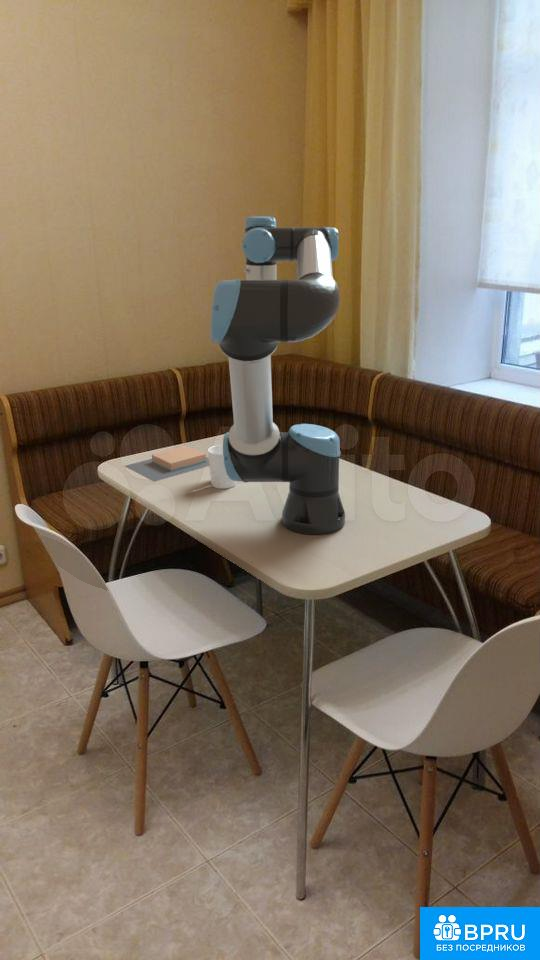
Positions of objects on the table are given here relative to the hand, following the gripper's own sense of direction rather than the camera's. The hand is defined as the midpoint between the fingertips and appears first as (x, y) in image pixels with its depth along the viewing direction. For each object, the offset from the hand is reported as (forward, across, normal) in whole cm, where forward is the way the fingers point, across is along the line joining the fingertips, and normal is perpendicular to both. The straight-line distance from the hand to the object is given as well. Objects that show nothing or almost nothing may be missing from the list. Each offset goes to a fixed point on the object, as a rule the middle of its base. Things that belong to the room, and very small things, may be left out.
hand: (262, 375), depth 197 cm
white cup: (+30, -1, -11) cm, 32 cm away
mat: (+29, -20, -21) cm, 41 cm away
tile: (+28, -18, -24) cm, 41 cm away
